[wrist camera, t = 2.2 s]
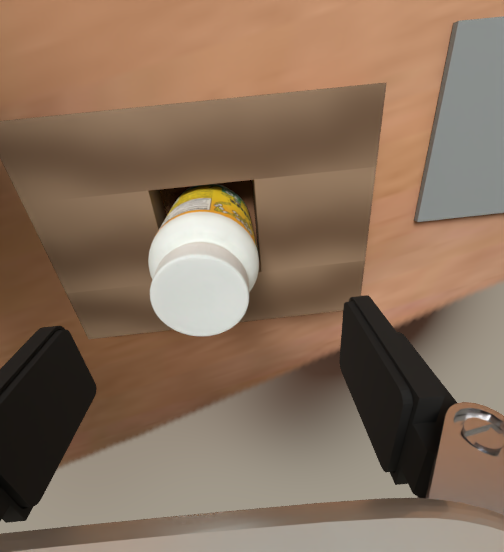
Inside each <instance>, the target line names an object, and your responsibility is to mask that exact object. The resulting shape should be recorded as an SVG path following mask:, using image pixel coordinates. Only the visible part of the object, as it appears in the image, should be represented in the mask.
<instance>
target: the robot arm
mask: <svg viewBox="0 0 504 552" xmlns="http://www.w3.org/2000/svg"><path fill="white" fill-rule="evenodd" d="M340 368H341V371H342V374H343V376H344V378H345V381H346V383H347V386H348V388H349V390H350V393H351V395H352V397H353V400H354V402H355V405H356V407H357V410H358V412H359V414H360V417H361V419H362V422H363V424H364V426H365V429H366V431H367V433H368V436H369V438H370V440H371V443H372V446H373V448H374V450H375V453H376V455H377V458H378V460H379V462H380V465H381V467H382V468H383V470H384V471H385V472H390V474H391V476H392V478H393V480H394V483H395V485H397V484H407V483H408V484H409V486H410V488H411V490H412V492H413V494H415V495H417V496H418V497H417V498H391V499H390V498H388V499H369V500H355V501H341V502H327V503H314V504H303V505H292V506H281V507H270V508H259V509H248V510H237V511H227V512H215V513H205V514H194V515H184V516H173V517H163V518H152V519H143V520H133V521H122V522H112V523H101V524H92V525H81V526H72V527H61V528H52V529H43V530H33V531H23V532H13V533H3V534H0V552H504V416H503V415H502V414H500V413H498V412H497V411H495V410H492V409H490V408H488V407H486V406H483V405H479V404H476V403H468V402H462V403H457V402H456V401H455V399H454V398H453V397H452V396H451V394H450V393H449V392H448V391H447V389H446V388H445V387H444V385H443V384H442V383H441V382H440V380H439V379H438V378H437V377H436V375H435V374H434V373H433V372H432V370H431V369H430V368H429V366H428V365H427V364H426V362H425V361H424V360H423V359H422V357H421V356H420V355H419V354H418V352H417V351H416V350H415V348H414V347H413V346H412V345H411V344H410V342H409V341H408V340H407V338H406V337H405V336H404V335H403V334H402V333H400V332H396V331H395V329H394V328H393V327H392V325H391V324H390V323H389V321H388V320H387V319H386V318H385V316H384V315H383V314H382V312H381V311H380V310H379V308H378V307H377V306H376V304H375V303H374V302H373V300H372V299H371V298H370V297H369V296H356V297H351V298H350V299H349V302H345V303H344V309H343V323H342V336H341V349H340ZM95 394H96V384H95V382H94V380H93V378H92V376H91V374H90V372H89V370H88V368H87V366H86V364H85V362H84V360H83V358H82V356H81V354H80V352H79V350H78V348H77V346H76V344H75V342H74V340H73V338H72V336H71V334H70V332H69V331H68V330H65V329H64V328H63V327H62V326H53V327H43V328H40V329H39V330H38V331H37V332H36V333H35V334H34V335H33V336H32V337H31V338H30V339H29V340H28V341H27V342H26V343H25V344H24V345H23V346H22V347H21V348H20V349H19V350H18V351H17V352H16V353H15V354H14V356H13V357H12V358H11V359H10V360H9V361H8V362H7V363H6V364H5V365H4V366H3V367H2V368H1V369H0V521H1V519H3V520H4V521H5V522H16V521H25V520H26V519H27V517H28V515H29V514H30V512H31V510H32V508H33V506H35V505H37V504H38V502H39V501H40V500H41V498H42V496H43V494H44V492H45V491H46V488H47V486H48V485H49V483H50V481H51V479H52V477H53V475H54V473H55V471H56V469H57V468H58V466H59V464H60V462H61V460H62V458H63V456H64V454H65V452H66V450H67V448H68V446H69V445H70V443H71V441H72V439H73V437H74V435H75V433H76V431H77V429H78V427H79V425H80V423H81V422H82V420H83V418H84V416H85V414H86V412H87V410H88V408H89V406H90V404H91V402H92V400H93V399H94V397H95Z"/></svg>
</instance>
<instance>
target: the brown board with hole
mask: <svg viewBox="0 0 504 552" xmlns="http://www.w3.org/2000/svg"><path fill="white" fill-rule="evenodd" d="M385 90H386V83H378V84H367V85H357V86H347V87H337V88H327V89H317V90H307V91H297V92H287V93H277V94H267V95H257V96H247V97H237V98H227V99H217V100H207V101H197V102H187V103H177V104H167V105H157V106H147V107H137V108H127V109H117V110H107V111H97V112H86V113H76V114H66V115H56V116H46V117H36V118H26V119H16V120H6V121H0V158H1V160H2V162H3V165H4V167H5V169H6V171H7V173H8V175H9V177H10V179H11V181H12V183H13V185H14V187H15V189H16V191H17V193H18V195H19V197H20V199H21V201H22V204H23V206H24V208H25V210H26V212H27V214H28V216H29V218H30V220H31V222H32V224H33V226H34V228H35V230H36V232H37V234H38V236H39V238H40V240H41V243H42V245H43V247H44V249H45V251H46V253H47V255H48V257H49V259H50V261H51V263H52V265H53V267H54V269H55V271H56V273H57V275H58V277H59V279H60V281H61V284H62V286H63V288H64V290H65V292H66V294H67V296H68V298H69V300H70V302H71V304H72V306H73V308H74V310H75V312H76V314H77V316H78V318H79V320H80V323H81V325H82V327H83V329H84V331H85V333H86V335H87V337H88V339H96V338H105V337H114V336H122V335H131V334H140V333H149V332H158V331H167V330H174V329H172V328H170V327H169V326H167V325H166V324H165V323H164V322H163V321H161V320H160V318H159V317H158V316H157V314H156V313H155V311H154V309H153V307H152V304H151V300H150V287H151V283H152V277H151V275H150V271H149V264H148V258H149V251H150V247H151V244H152V242H153V239H154V237H155V236H156V234H157V232H158V230H159V228H160V227H161V225H162V223H163V222H164V220H165V218H166V214H165V209H164V205H163V201H162V197H161V193H160V189H168V188H178V187H188V186H197V185H207V184H216V183H226V182H235V181H245V180H252V187H253V199H254V210H255V222H256V234H257V246H258V257H259V271H258V276H257V279H256V282H255V284H254V286H253V288H252V289H251V291H250V292H249V304H248V307H247V310H246V312H245V314H244V316H243V317H242V319H241V320H240V321H239V322H246V321H255V320H264V319H273V318H281V317H290V316H299V315H308V314H317V313H326V312H334V311H343V309H344V303H345V302H349V299H350V298H351V297H356V296H361V289H362V281H363V273H364V264H365V256H366V248H367V239H368V231H369V223H370V215H371V206H372V198H373V190H374V181H375V173H376V165H377V156H378V148H379V140H380V132H381V123H382V115H383V107H384V98H385Z"/></svg>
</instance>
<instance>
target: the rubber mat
mask: <svg viewBox="0 0 504 552" xmlns="http://www.w3.org/2000/svg"><path fill="white" fill-rule="evenodd" d="M496 213H504V17H494V18H484V19H474V20H463V21H457V22H455V23H454V24H453V29H452V34H451V39H450V44H449V49H448V54H447V59H446V64H445V69H444V74H443V79H442V84H441V89H440V94H439V99H438V104H437V109H436V114H435V119H434V124H433V129H432V134H431V139H430V144H429V149H428V154H427V159H426V164H425V169H424V174H423V179H422V184H421V189H420V194H419V199H418V204H417V209H416V214H415V219H414V220H415V221H416V222H422V221H431V220H441V219H450V218H459V217H468V216H477V215H487V214H496Z"/></svg>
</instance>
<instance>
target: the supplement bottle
mask: <svg viewBox="0 0 504 552" xmlns="http://www.w3.org/2000/svg"><path fill="white" fill-rule="evenodd" d="M148 264H149V271H150V275H151V277H152V283H151V287H150V300H151V304H152V307H153V309H154V311H155V313H156V314H157V316H158V317H159V318H160V320H161V321H163V322H164V323H165V324H166V325H167V326H169V327H170V328H172V329H174V330H176V331H178V332H180V333H183V334H187V335H191V336H212V335H217V334H220V333H222V332H225V331H227V330H229V329H230V328H232V327H233V326H235V325H236V324H237V323H238V322H239V321H240V320H241V319H242V317H243V316H244V314H245V312H246V310H247V307H248V304H249V292H250V291H251V289H252V288H253V286H254V284H255V282H256V279H257V276H258V271H259V257H258V249H257V246H256V241H255V237H254V232H253V228H252V223H251V218H250V214H249V211H248V208H247V206H246V204H245V203H244V201H243V200H242V199H241V198H240V196H238V195H237V194H236V193H235V192H233V191H232V190H230V189H229V188H227V187H225V186H223V185H220V184H207V185H197V186H192V187H190V188H189V189H187V190H186V191H184V192H183V193H182V194H181V195H180V196H179V197H178V198H177V200H176V201H175V203H174V204H173V206H172V208H171V210H170V211H169V213H168V215H167V217H166V218H165V220H164V222H163V223H162V225H161V227H160V228H159V230H158V232H157V234H156V236H155V237H154V239H153V242H152V244H151V247H150V251H149V258H148Z"/></svg>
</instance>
